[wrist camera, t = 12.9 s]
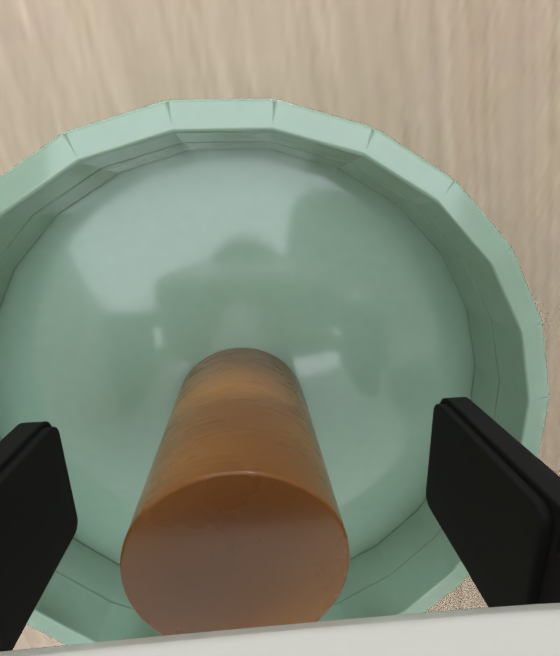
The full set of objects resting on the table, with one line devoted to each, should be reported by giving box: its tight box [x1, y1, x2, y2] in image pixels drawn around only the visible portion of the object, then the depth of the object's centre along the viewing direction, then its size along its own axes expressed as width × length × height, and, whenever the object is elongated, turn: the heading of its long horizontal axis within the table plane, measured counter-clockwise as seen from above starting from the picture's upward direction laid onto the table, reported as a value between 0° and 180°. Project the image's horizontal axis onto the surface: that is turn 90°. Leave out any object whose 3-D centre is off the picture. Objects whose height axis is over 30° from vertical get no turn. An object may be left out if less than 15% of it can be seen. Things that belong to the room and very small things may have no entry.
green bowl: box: [0, 98, 549, 645], centre depth 12 cm, size 16×16×3 cm
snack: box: [120, 348, 350, 636], centre depth 10 cm, size 4×4×6 cm
